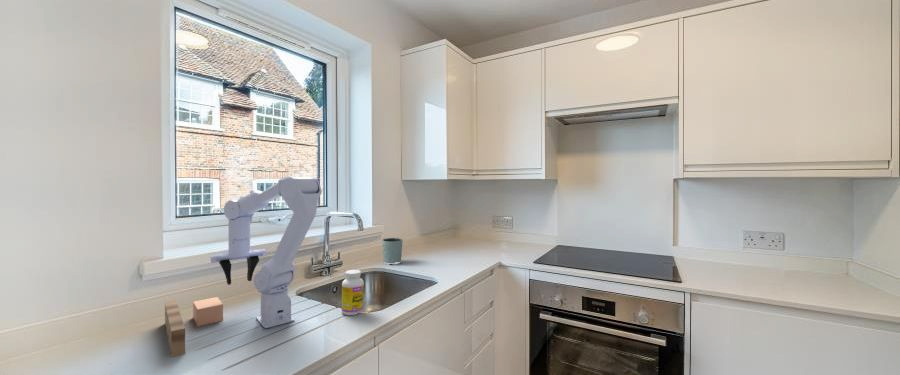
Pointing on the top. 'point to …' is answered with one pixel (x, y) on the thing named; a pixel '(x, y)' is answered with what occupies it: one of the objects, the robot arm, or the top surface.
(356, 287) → the supplement bottle
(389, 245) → the green plant pot
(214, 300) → the block
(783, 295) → the top surface
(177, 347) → the plank
